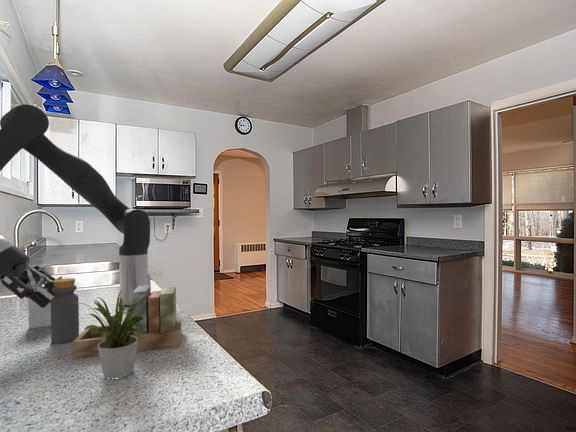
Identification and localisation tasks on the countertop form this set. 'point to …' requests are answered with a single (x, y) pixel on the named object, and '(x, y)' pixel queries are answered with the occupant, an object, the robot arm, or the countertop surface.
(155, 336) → the rack
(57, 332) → the bottle
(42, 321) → the small box
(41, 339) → the countertop surface
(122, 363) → the house plant
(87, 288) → the countertop surface
